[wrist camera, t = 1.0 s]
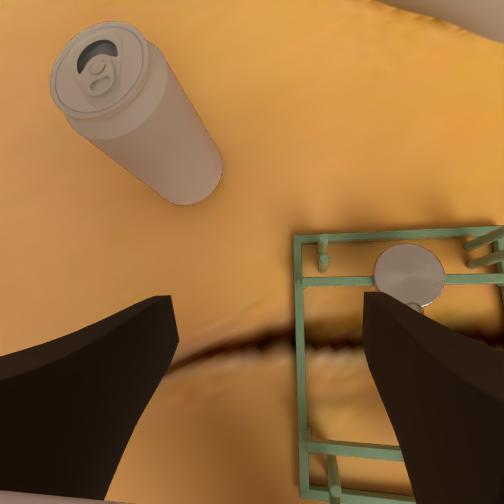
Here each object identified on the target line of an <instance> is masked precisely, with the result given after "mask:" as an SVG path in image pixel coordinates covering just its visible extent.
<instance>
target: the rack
mask: <svg viewBox="0 0 504 504" xmlns="http://www.w3.org/2000/svg"><path fill="white" fill-rule="evenodd" d="M478 236H480V237H478ZM455 237H478V238H476V239H474V240H472V241H469V242H467V243H465V244H464V248H465V250H467V251H471V250H474V249H476V248H479V247H481V246H484V245H486V244H489V243H491V242H493V247H494V253H492V254H489V255H486V256H483V257H480V258H477V259H474V260H471V261H469V262H467V267H468V268H469V269H476V268H480V267H483V266H487V265H490V264H494V263H496V264H497V270H498V273H488V274H445V284H444V285H464V284H496V285H497V286H499V287H500V288H501V294H502V300H503V305H504V225H498V226H478V227H457V228H437V229H416V230H396V231H376V232H355V233H335V234H325V233H322V234H314V235H294V236H293V254H294V292H295V329H296V367H297V404H298V442H299V480H300V498H303V499H311V500H319V501H327V502H330V504H341V503H343V504H416V501H415V497H412V496H403V495H395V494H386V493H377V492H369V491H360V490H351V489H343V488H341V484H340V478H339V471H338V465H337V459H336V455H338V456H349V457H359V458H370V459H380V460H391V461H402V462H404V459H403V456H402V452H401V449H400V446H393V445H381V444H369V443H357V442H345V441H334V440H322V439H312V430H311V428H310V427H307V403H306V372H305V341H304V310H303V289H305V288H306V287H328V286H374V283H373V279H372V276H345V277H302V249H301V244H315V243H318V255H320V258H319V267H318V270H319V272H320V273H324V272H326V269H327V266H328V263H329V256H328V255H327V254H325V253H326V248H327V243H338V242H362V241H385V240H408V239H431V238H455ZM308 453H317V454H326V455H327V465H328V473H327V477H328V487H325V486H317V485H309V464H308Z"/></svg>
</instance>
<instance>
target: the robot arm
mask: <svg viewBox="0 0 504 504" xmlns="http://www.w3.org/2000/svg"><path fill="white" fill-rule="evenodd" d="M178 343H179V336H178V331H177V326H176V320H175V315H174V310H173V304H172V299H171V295H165V296H153V297H150V298H148V299H145V300H143V301H141V302H139V303H136V304H134V305H132V306H130V307H128V308H126V309H124V310H122V311H120V312H118V313H115V314H113V315H111V316H109V317H107V318H105V319H103V320H100V321H98V322H96V323H94V324H92V325H89V326H87V327H85V328H83V329H80V330H78V331H76V332H73V333H71V334H68V335H65V336H63V337H60V338H57V339H55V340H52V341H49V342H46V343H43V344H40V345H37V346H34V347H31V348H27V349H24V350H21V351H18V352H14V353H11V354H8V355H4V356H1V357H0V504H134V503H123V502H113V501H104V499H105V496H106V494H107V491H108V488H109V486H110V484H111V481H112V479H113V476H114V474H115V472H116V469H117V467H118V464H119V462H120V459H121V457H122V455H123V453H124V450H125V448H126V446H127V444H128V441H129V439H130V437H131V435H132V432H133V430H134V428H135V426H136V424H137V422H138V420H139V418H140V416H141V415H142V413H143V411H144V409H145V408H146V406H147V404H148V402H149V401H150V399H151V397H152V395H153V394H154V392H155V390H156V388H157V387H158V385H159V383H160V381H161V380H162V378H163V376H164V374H165V372H166V371H167V369H168V367H169V365H170V363H171V361H172V358H173V356H174V354H175V351H176V348H177V346H178ZM362 343H363V347H364V351H365V355H366V359H367V362H368V366H369V369H370V372H371V374H372V377H373V379H374V382H375V384H376V387H377V389H378V392H379V394H380V396H381V399H382V401H383V404H384V406H385V409H386V411H387V414H388V416H389V419H390V421H391V423H392V426H393V428H394V431H395V434H396V437H397V440H398V442H399V446H400V449H401V452H402V456H403V459H404V462H405V466H406V469H407V472H408V476H409V479H410V483H411V486H412V490H413V494H414V497H415V501H416V504H504V352H502V351H500V350H497V349H495V348H492V347H490V346H487V345H485V344H483V343H480V342H478V341H475V340H473V339H471V338H468V337H466V336H464V335H462V334H460V333H457V332H455V331H453V330H451V329H449V328H447V327H445V326H443V325H441V324H439V323H438V322H436V321H434V320H432V319H430V318H428V317H426V316H425V315H423V314H421V313H419V312H418V311H416V310H414V309H412V308H411V307H409V306H407V305H406V304H404V303H402V302H401V301H399V300H397V299H396V298H394V297H392V296H390V295H388V294H387V293H384V292H364V308H363V336H362Z"/></svg>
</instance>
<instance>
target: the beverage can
mask: <svg viewBox="0 0 504 504" xmlns="http://www.w3.org/2000/svg"><path fill="white" fill-rule="evenodd" d="M50 92H51V95H52V98H53V101H54V102H55V104H56V105H57V107H58V108H59V109H60V110H61V111H63V112H64V113H65V116H66V119H67V121H68V122H69V124H70V125H71V127H72V128H73V129H74V130H75V131H76V132H78V133H79V134H80V135H82V136H83V137H84V138H86V139H87V140H88V141H89V142H91V143H92V144H93V145H95V146H96V147H97V148H99V149H100V150H101V151H102V152H104V153H105V154H106V155H108V156H109V157H110V158H112V159H113V160H114V161H115V162H117V163H118V164H119V165H121V166H122V167H123V168H125V169H126V170H127V171H129V172H130V173H131V174H132V175H134V176H135V177H136V178H138V179H139V180H140V181H142V182H143V183H144V184H145V185H147V186H148V187H149V188H151V189H152V190H153V191H155V192H156V193H157V194H158V195H160V196H161V197H162V198H164V199H165V200H167V201H168V202H170V203H173V204H177V205H190V204H194V203H197V202H199V201H201V200H203V199H205V198H206V197H207V196H209V195H210V194H211V193H212V192H213V190H214V189H215V188H216V186H217V185H218V183H219V181H220V178H221V175H222V169H223V164H222V158H221V155H220V152H219V150H218V149H217V147H216V145H215V143H214V142H213V140H212V138H211V137H210V135H209V133H208V131H207V130H206V128H205V126H204V124H203V123H202V121H201V119H200V118H199V116H198V114H197V112H196V111H195V109H194V107H193V105H192V104H191V102H190V100H189V99H188V97H187V95H186V93H185V92H184V90H183V88H182V86H181V85H180V83H179V81H178V80H177V78H176V76H175V74H174V73H173V71H172V69H171V67H170V66H169V64H168V62H167V61H166V59H165V57H164V55H163V54H162V52H161V51H160V50H159V48H158V47H156V46H155V45H154V44H153V43H151V42H150V41H148V40H146V39H145V38H144V36H143V35H142V33H141V32H140V31H139V30H138V29H137V28H135V27H134V26H132V25H130V24H128V23H124V22H118V21H112V22H103V23H99V24H96V25H93V26H91V27H89V28H87V29H85V30H84V31H82V32H80V33H79V34H78V35H76V36H75V37H74V38H73V39H72V40H71V41H70V42H69V43H68V44H67V45H66V46H65V47H64V48H63V50H62V51H61V52H60V54H59V56H58V57H57V59H56V61H55V63H54V66H53V68H52V72H51V76H50Z"/></svg>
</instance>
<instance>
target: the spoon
mask: <svg viewBox="0 0 504 504" xmlns="http://www.w3.org/2000/svg"><path fill="white" fill-rule="evenodd" d="M372 279H373V283H374V286H375V289H376V290H377V292H384V293H387V294H388V295H390V296H392V297H394V298H396V299H397V300H399V301H401V302H402V303H404V304H406V305H407V306H409V307H411V308H412V309H414V310H416V311H418V312H419V313H421V314H423V315H424V310H423V308H422V307H425V306H427V305H429V304H431V303H432V302H434V301H435V300H436V299H437V298H438V297H439V296H440V294H441V292H442V290H443V288H444V284H445V273H444V269H443V266H442V264H441V262H440V261H439V259H438V258H437V257H436V256H435V255H434V254H433V253H432V252H431V251H429V250H428V249H426V248H424V247H421V246H419V245H415V244H399V245H395V246H392V247H390V248H388V249H387V250H385V251H384V252H383V253H382V254H381V255H380V256H379V257H378V258H377V260H376V261H375V264H374V266H373V271H372Z"/></svg>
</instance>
